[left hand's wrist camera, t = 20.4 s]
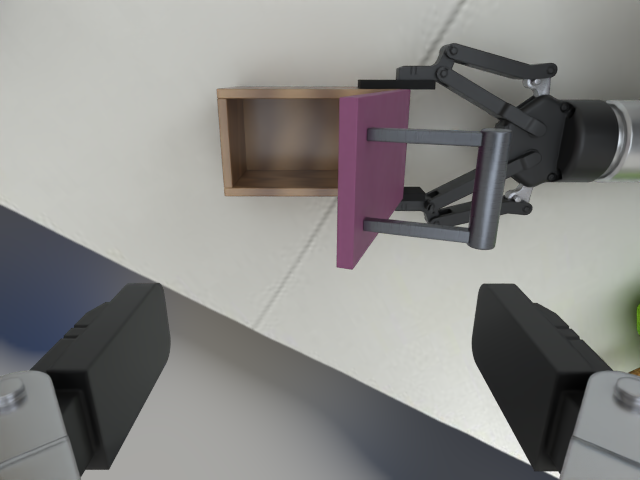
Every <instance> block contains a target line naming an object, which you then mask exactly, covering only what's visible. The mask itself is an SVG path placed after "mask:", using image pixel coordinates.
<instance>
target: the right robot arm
mask: <svg viewBox="0 0 640 480" xmlns="http://www.w3.org/2000/svg"><path fill="white" fill-rule="evenodd" d="M454 62H455V63H458V64H462V65H465V66H469V67H472V68H476V69H479V70H483V71H486V72H490V73H493V74H497V75H500V76H504V77H507V78H512V79H523V86H524V87H525V88H529V89H531V90H532V91H533V93H534V96H532V97H530V98H529V99H527V100H526V101H525V102H523V103H522V104H520V105H519V106H517V107H515V106H513V105H511V104H509V103H507V102H505V101H503V100H501V99H500V98H498V97H496V96H495V95H493V94H491V93H490V92H488V91H486V90H485V89H483V88H482V87H480V86H478V85H477V84H475V83H473V82H472V81H470V80H468V79H467V78H465V77H463V76H462V75H460V74H458V73H457V72H455V71H453V70H452V67H453V65H454ZM556 73H557V66H556V64H554V63H543V64H531V65H529V64H526V63H522V62H519V61H515V60H512V59H508V58H505V57H502V56H498V55H495V54H491V53H488V52H484V51H481V50H477V49H474V48H470V47H467V46H463V45H460V44H456V43H452V44H448V45H445V46H443V47H442V48H441V49H440V52H439V56H438V59H437V61H436V62H435V64H433V65H432V66H402V67H399V68H397V69H396V80H358V88H359V89H435V83H436V82H438V83H439V84H441V85H443V86H444V87H446V88H448V89H449V90H451V91H453V92H454V93H456V94H458V95H459V96H461V97H463V98H464V99H466V100H468V101H469V102H471V103H473V104H474V105H476V106H478V107H479V108H481V109H483V110H484V111H486V112H488V113H489V114H490V115H492V116H493V117H495V118H497V119H498V120H500V121H499V123H498V124H496V127H495V128H498V129H508V130H511V131H512V138H511V144H510V151H509V157H508V164H507V171H506V177H505V179H507V178H509V177H512V178H513V179H514V180H516V181H517V182H518V183H519V185H518V187H517V188H516V189H513V190H509V191H507V192H506V193H505V195H503V197H502V203H501V210H500V215H503V214H507V213H509V214H519V215H528V214H530V213H531V211H532V205H531V204H530V203H529V199H530V196H531V192H532V189H533V187H535V186H537V185H539V184H542V183H545V182H591V181H596V182H640V100H607V101H602V100H558V99H556V98H554V97H553V96H551V95H549V93H550V81H551V77H553V76H555V74H556ZM475 173H476V169H474V170H472V171H470V172H468V173H466V174H464V175H462V176H460V177H458V178H456V179H454V180H452V181H450V182H448V183H446V184H444V185H442V186H440V187H438V188H436V189H434V190H432V191H430V192H428V193H425V192H424V191H423V190H422V189H421V188H420V187H404V190H403V199H402V200H401V202H400V203H399V205H398V206H397V207H396V209H395V211H422V212H424V215H425V220H426V222H427V223H428V224H436V225H446V226H455V225H460V224H464V223H468V222H469V220H470V212H471V204H472V201H471V202H467V203H462V204H458V205H454V206H450V207H446V208H442V207H444V206H447V205H449V204H451V203H453V202H455V201H457V200H459V199H461V198H463V197H465V196H467V195H469V194H471V193H473V188H474V181H475ZM440 208H441V209H440Z"/></svg>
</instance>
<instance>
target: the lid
mask: <svg viewBox="0 0 640 480" xmlns="http://www.w3.org/2000/svg"><path fill="white" fill-rule="evenodd" d="M410 91H411V90H405V89H399V90H391V91H384V92H376V93H368V94H361V95H353V96H346V97H340V98H339V155H338V214H337V267H338V268H345V269H353V268H354V267H355V265H356V264H357V263H358V261H359V260H360V258H361V257H362V256H363V254H364V253H365V251H366V250H367V248H368V247H369V246H370V244H371V243H372V241H373V240H374V239H375V237H376V236H377V234H378V233H385V234H394V235H402V236H411V237H419V238H428V239H436V240H445V241H454V242H462V243H467V245H468V246H470V247H472V248H475V249H480V250H489V249H493V248H494V247H495V243H496V236H497V230H498V223H499V217H500V210H501V203H502V197H503V190H504V184H505V177H506V171H507V164H508V157H509V151H510V144H511V138H512V131H511V130H508V129H498V128H486V129H482V130H481V132H479V131H453V130H428V129H408V119H409V105H410ZM407 143H416V144H436V145H456V146H476V147H479V149H478V157H477V165H476V173H475V181H474V188H473V196H472V204H471V212H470V220H469V228H464V227H455V226H446V225H436V224H427V223H417V222H408V221H399V220H389V217H390V216H391V214H392V213H393V212H394V210H395V209H396V207H397V206H398V205H399V203H400V202H401V200H402V199H403V190H404V176H405V161H406V147H407Z"/></svg>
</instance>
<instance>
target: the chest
mask: <svg viewBox="0 0 640 480" xmlns="http://www.w3.org/2000/svg"><path fill="white" fill-rule="evenodd" d="M391 90H399V89H359V88H358V87H230V88H221V89H217V98H218V99H217V101H218V114H219V127H220V141H221V154H222V167H223V180H224V193H225V196H338V155H339V98H340V97H346V96H353V95H361V94H368V93H376V92H384V91H391Z"/></svg>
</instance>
